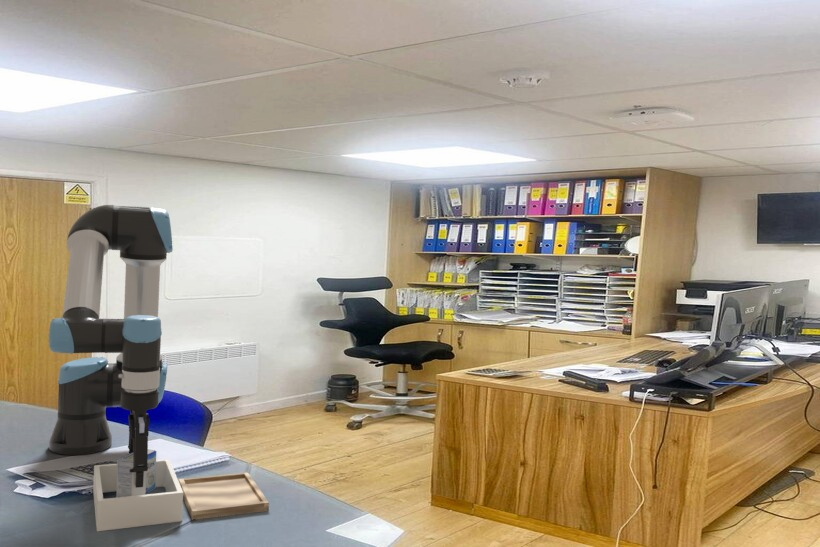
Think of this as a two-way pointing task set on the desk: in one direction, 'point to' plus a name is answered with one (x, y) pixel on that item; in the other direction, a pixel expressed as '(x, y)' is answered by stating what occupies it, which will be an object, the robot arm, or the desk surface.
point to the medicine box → (126, 476)
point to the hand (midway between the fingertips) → (136, 492)
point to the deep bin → (136, 500)
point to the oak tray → (222, 495)
